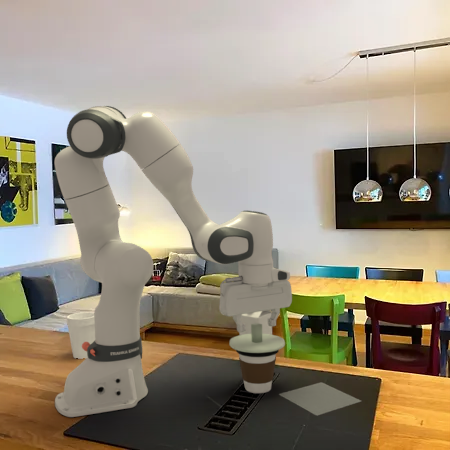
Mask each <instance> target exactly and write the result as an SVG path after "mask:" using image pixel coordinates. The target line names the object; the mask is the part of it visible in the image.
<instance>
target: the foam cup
mask: <svg viewBox="0 0 450 450" xmlns="http://www.w3.org/2000/svg"><path fill="white" fill-rule="evenodd" d="M66 326H67V329H68V333H69V335H68V336H69V340H70V341H69V342H70V346H71V347H70V348H71V351H72V356H73V359H76V358H78V360H81V359H83V358H85V359H86V358H88V356H87V351H85V350H84V349H83V348H82V344H83V343H84V342H89V343H90V344H92V343H93V342H94V341H95V321H94V312H91V311H89V312H88V311H87V312H86V311H85V312H76V313H71V314H69V315H67V316H66Z"/></svg>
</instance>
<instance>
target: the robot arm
mask: <svg viewBox="0 0 450 450" xmlns="http://www.w3.org/2000/svg"><path fill="white" fill-rule="evenodd" d="M66 139H67V143H68V145H69V146H67V147H65V148H62V149H61V150H60V151H58V153H57V154H56V156H55V158H54V169H55V174H56V178H57V181H58V185H59V188H60V191H61V194H62V196H63V199H64V202H65V205H66V207H67V208H68V209H67V210H68V212H69V214H70V217H71V219H72V222H73V225H74V227H75V230H76V234H77V237H78V242H79V243H78V244H79V250H80V259H79V260H80V267H81V269H82V271H83V273H85V274H86V276H88V277H89V278H90V279H91V280H93V281H95V282H98V283H101V293H100V296H99V301H98V305H97V306H96V307H95V309H94V312H93V313H94V321H95V341H94V342H93V343H92V344H90V343H89V342H84V343H83V344H82V348H83V349H84V350H85V351H87V356H88V358H85V359H84V360H82V362H81V363H80V364H79V365H77V367H75V368H74V369H73V370H72V371H70V372H69V373H68V375H67V376H66V379H65V383H64V389H63V392H60V393H58V394H57V395H56V396H55V399H54V407H55V409H56V410H57V412H58V413H60V415H63V416H65V417H67V418H74V417H81V416H87V415H93V414H101V413H107V412H114V411H118V410H124V409H125V410H126V409H132V408H134V407H136V406H137V405H138V402H139V401H141V400H142V399H143V398H145V397H147V395H148V393H149V389H148V387H147V383H146V380H145V375H144V370H143V363H142V359H143V342H142V337H141V335H140V333H141V332H140V331H141V330H140V328H141V327H140V326H141V325H140V307H141V301H142V296H143V291H144V288H145V285H146V284H147V283H148V282H149V280H150V279H151V277H152V275H153V272H154V261H153V260H154V259H153V257H152V256H151V254H150V252H148V251H147V249H144V248H142V246H140V245H137V244H135V243H132V242H131V243H130V242H123V241H122V238H121V236H120V229H119V219H120V217H121V216H120V214H121V213H120V210H119V206H118V204H117V201H116V199H115V195H114V193H113V190H112V188H111V184H110V182H109V180H108V177H107V176H106V172H105V169H104V160H105V158H106V157H108V156H111V155H114V154H117V153H121V152H125V153H126V154H128V155H129V156H130V157H131V158H132V159H133V161H135V163H136V165H138V167H139V168H140V170H141V172H142V174H144V175H145V177H146V178H147V179H148V180H149V182H150V183H151V184H152V185H153V187H155V188H156V189H157V191H159V193H160V194H161V195H163V197H164V198H165V199H166V200H167V201H168V202H169V204H170V205H171V207H172V208H173V210H174V211H175V213H176V214H177V215H178V217H179V219H180V220H181V222H182V223H183V224H184V226H185V227H186V229H187V231H188V233H189V234H188V235H189V237H190V240H191V246H192V250H193V251H194V253H195V255H196V256H198V258H199V259H201V260H203V261H206V262H212V263H216V264H220V265H230V264H234V263H238V266H237V267H238V276H234V277H226V278H225V279H224V280H223V281H222V282H221V283H220V284H219V285H220V286H219V287H220V288H219V289H220V290H219V291H220V295H219V313H221V315H223V316H226V317H232V320H233V321H234V323H235V324H236V331H237V332H238V333H239V332H244V331H245V330H246V329H245V327H246V326H245V324H242V322H241V321H240V319H241V318H242V314H247V313H253V312H260V311H266V310H270V312H271V313H272V314H271V317H270V318H269V319H268V326H272V327H275V326H276V327H277V319H278V317H279V315H280V313H281V312H280V311H281V310H280V309H285V308H289V307H290V306H291V304H292V302H293V293H292V284H291V282H290V281H289V280H290V279H291V273H290V272H289V271H288V270H283V269H280V268H277V267H274V259H273V255H272V252H273V249H274V248H273V246H274V237H273V225H272V221H271V218H270V216H269V215H268V214H267V213H264V212H263V211H262V212H261V211H255V210H253V211H252V210H242V211H240V212H239V214H237V215H236V216H235V217H233V218H231V219H229V220H227V221H226V222H223V223H221V224H218V223H217V222H214V221H213V220H212V219H211V218H210V217H209V216H208V214H207V213H206V211H205V210H204V208H203V207H202V205H201V203H200V202H199V201H198V198H197V197H196V196H195V194H194V191H193V187H192V183H193V182H192V181H193V175H194V166H193V164H192V162H191V159H190V157H189V156H188V153H187V151H186V150H185V148H184V147H183V145H182V144H181V143H180V141H179V140H178V139H177V137H176V136H175V134H174V133H173V132H172V131H171V130H170V128H169V127H168V126H167V125H166V124H165V122H164V121H162V120H161V118H160V117H159V116H157V115H156V113H154V112H152V111H147V110H146V111H139V112H137V113H135V114H133V115H131V116H129V117H127V116H126V115H125V114H124V113H123V112H122V110H119V109H118V108H116V107H114V106H110V105H97V106H91V107H89V108H86V109H84V110H81V111H79V112H77V113H76V114H75V115H73V117H71V119H70V121H69V123H68V125H67V128H66Z"/></svg>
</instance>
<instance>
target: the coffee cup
mask: <svg viewBox="0 0 450 450" xmlns="http://www.w3.org/2000/svg"><path fill="white" fill-rule="evenodd" d="M235 351H236V353H237V354H238V356H239V357H238V358H239V359H238V361H239V367H240V372H241V378H242V380H243V384H244V388H245V390H246V391H247V392H249V393H253V394H264V393H268V392H270V391H271V390H272V383H273V379H274V374H275V368H276V367H275V366H276V359H277V354H278V353H279V351H280V349H279V350H277V351H272V352H265V353H249V352H242V351H238V350H235Z"/></svg>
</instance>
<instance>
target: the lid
mask: <svg viewBox="0 0 450 450" xmlns="http://www.w3.org/2000/svg"><path fill="white" fill-rule="evenodd" d="M285 341H286V340H285V339H284V338H282V337H281V336H278V335H274V334H272V335H270V334H262V324H259V323H255V324H251V334H244V335H236V336H233V337H231V338H230V339H229V346H230V348H231V349H233V350H235V351H236V350H238V351H242V352H249V353H265V352H272V351H277V350H279V351H280V350H281V349H283V348H284V347H285V345H286V342H285Z"/></svg>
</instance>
